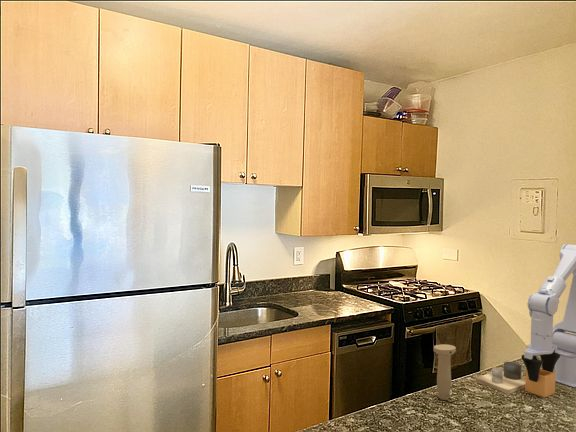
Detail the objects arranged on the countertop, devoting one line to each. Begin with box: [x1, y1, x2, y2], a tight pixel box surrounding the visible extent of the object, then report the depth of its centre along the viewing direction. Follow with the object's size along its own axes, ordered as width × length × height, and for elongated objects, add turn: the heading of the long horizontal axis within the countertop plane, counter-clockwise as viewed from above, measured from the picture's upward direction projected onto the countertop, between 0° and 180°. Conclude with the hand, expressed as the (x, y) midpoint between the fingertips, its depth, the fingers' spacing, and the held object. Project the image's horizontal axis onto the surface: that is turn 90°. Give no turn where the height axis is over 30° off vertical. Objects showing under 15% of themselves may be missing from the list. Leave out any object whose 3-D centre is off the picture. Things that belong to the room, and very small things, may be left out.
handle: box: [433, 343, 457, 401], centre depth 130 cm, size 5×6×15 cm
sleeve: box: [524, 368, 556, 399], centre depth 135 cm, size 6×6×6 cm
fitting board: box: [474, 361, 526, 395], centre depth 142 cm, size 14×11×5 cm
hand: (540, 378), depth 135 cm, fingers open, 7 cm apart
